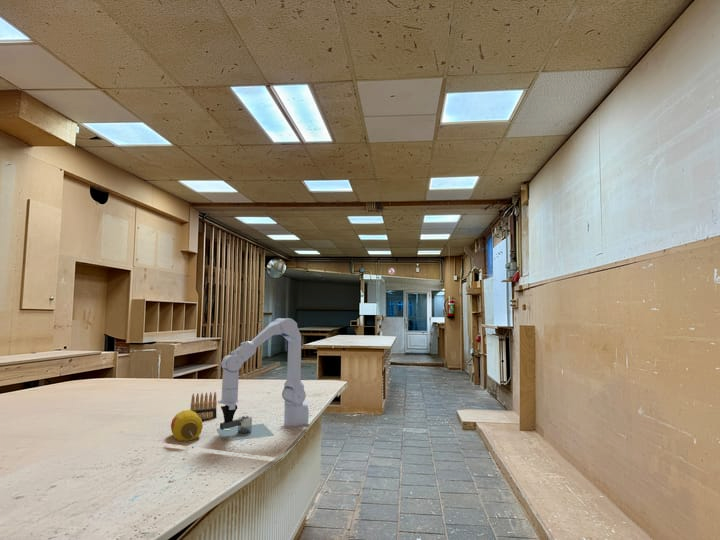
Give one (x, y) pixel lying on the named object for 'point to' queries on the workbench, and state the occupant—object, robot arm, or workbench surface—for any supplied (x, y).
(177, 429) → the lantern
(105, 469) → the workbench surface
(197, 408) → the ammunition clip
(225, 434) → the mounting plate
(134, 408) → the workbench surface
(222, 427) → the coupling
